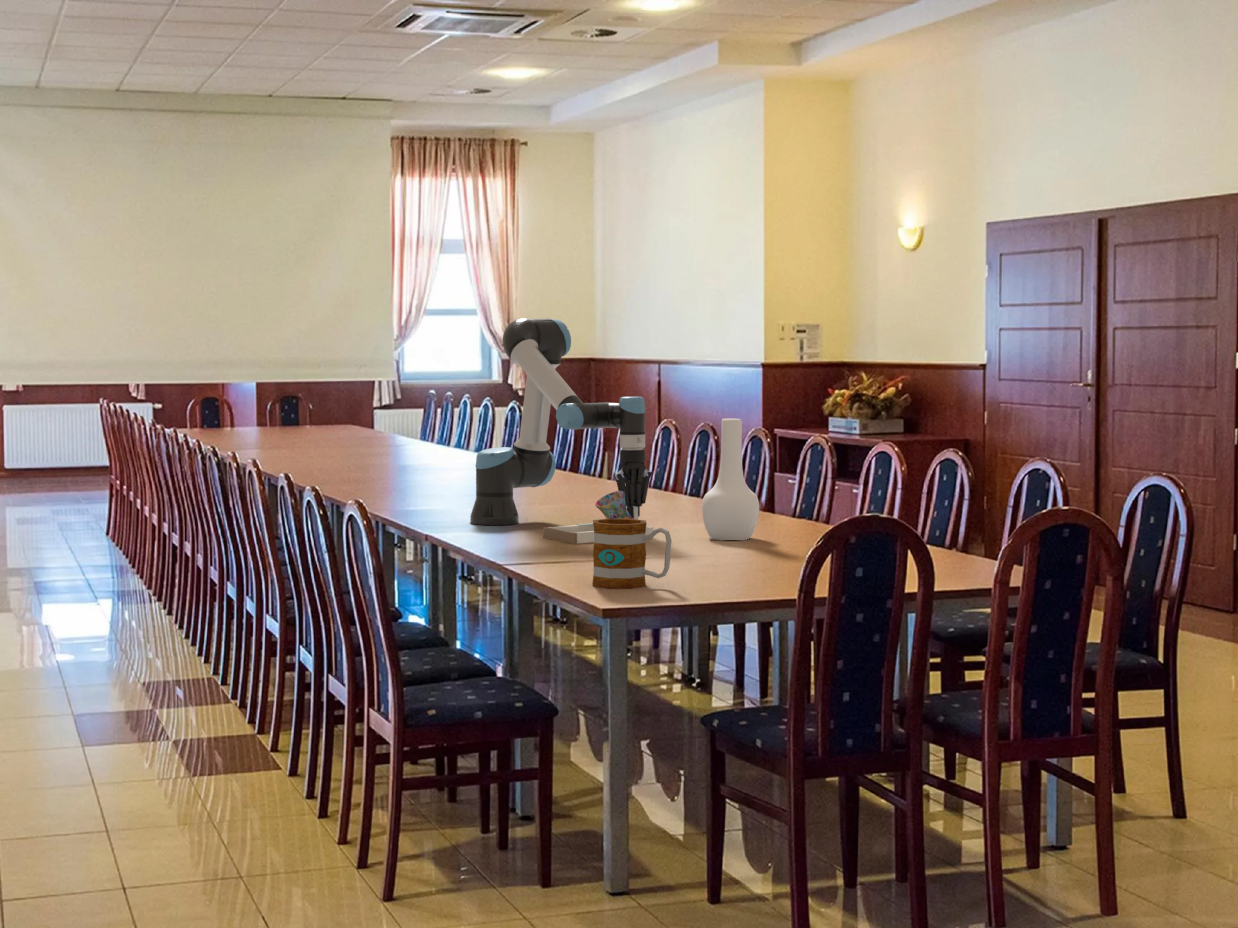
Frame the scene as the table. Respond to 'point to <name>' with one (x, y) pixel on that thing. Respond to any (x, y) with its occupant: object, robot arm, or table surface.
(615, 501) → the mug
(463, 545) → the table surface
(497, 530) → the table surface
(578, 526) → the teal-striped rail frame
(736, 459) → the vase
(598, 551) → the mug
